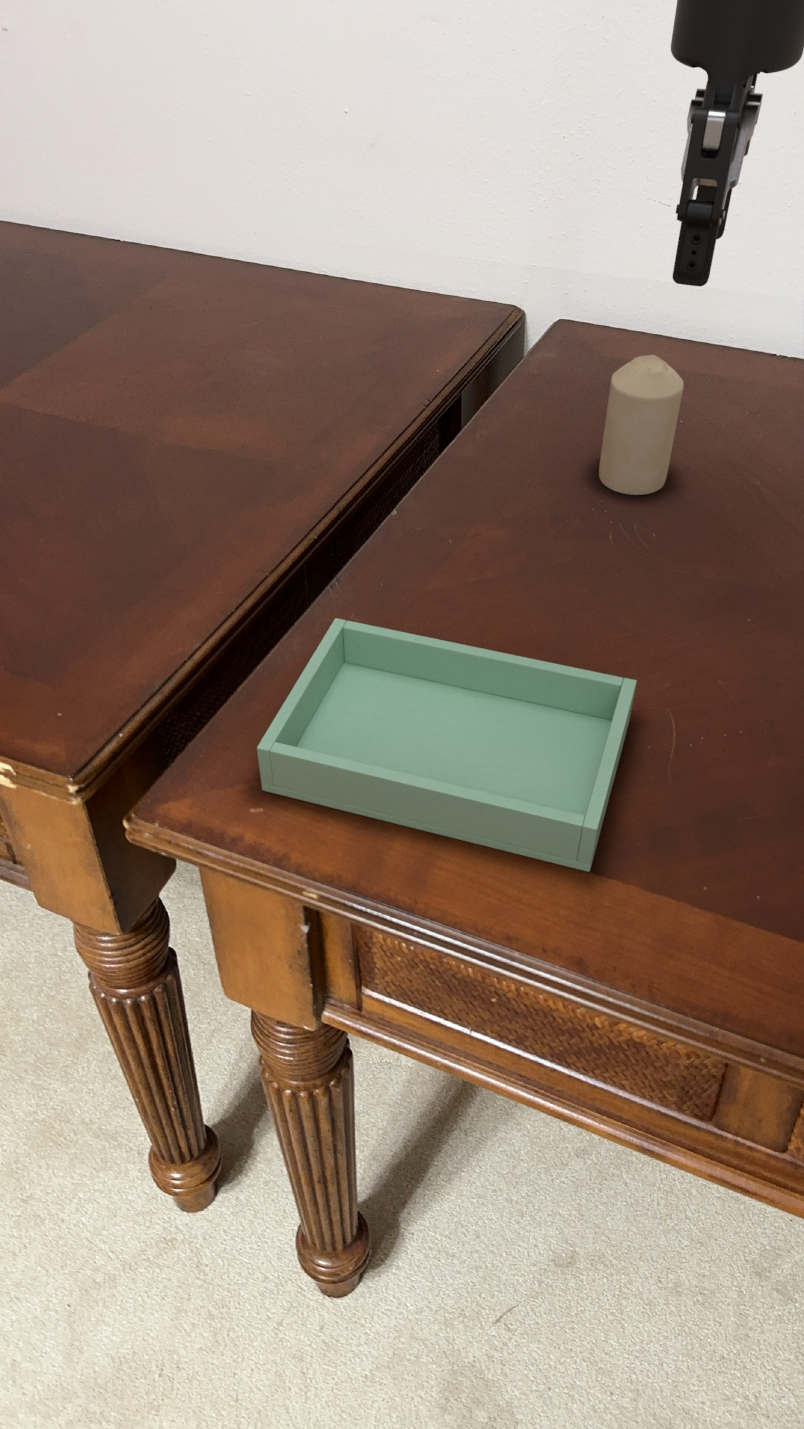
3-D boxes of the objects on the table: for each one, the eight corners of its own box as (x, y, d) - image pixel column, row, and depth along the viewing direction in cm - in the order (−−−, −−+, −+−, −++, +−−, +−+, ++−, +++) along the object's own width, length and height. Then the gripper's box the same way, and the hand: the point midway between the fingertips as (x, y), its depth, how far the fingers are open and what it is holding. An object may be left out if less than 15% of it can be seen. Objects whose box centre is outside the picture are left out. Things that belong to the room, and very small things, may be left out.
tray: (628, 722, 69) (637, 679, 67) (589, 872, 60) (597, 829, 58) (337, 659, 74) (335, 617, 71) (261, 790, 65) (256, 747, 63)
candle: (670, 496, 89) (693, 379, 82) (602, 495, 89) (618, 379, 82) (660, 461, 93) (680, 346, 86) (594, 460, 93) (609, 346, 86)
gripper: (814, -7, 56) (745, 308, 67) (827, -54, 65) (766, 228, 76) (664, -17, 57) (622, 293, 68) (699, -61, 67) (657, 216, 78)
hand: (698, 258), depth 72 cm, fingers open, 8 cm apart
